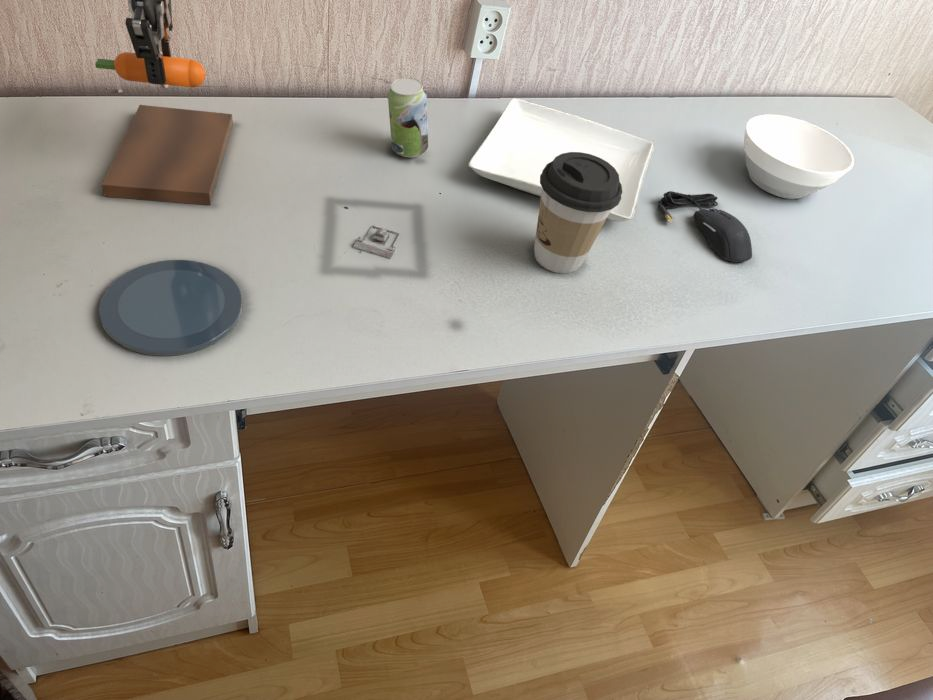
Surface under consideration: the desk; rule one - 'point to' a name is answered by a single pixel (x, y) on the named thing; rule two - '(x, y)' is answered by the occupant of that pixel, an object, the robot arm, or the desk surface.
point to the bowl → (793, 156)
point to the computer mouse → (713, 225)
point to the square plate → (559, 150)
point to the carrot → (175, 68)
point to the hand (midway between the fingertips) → (160, 75)
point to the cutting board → (170, 156)
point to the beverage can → (408, 117)
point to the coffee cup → (573, 208)
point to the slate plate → (170, 307)
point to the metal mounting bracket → (380, 238)
